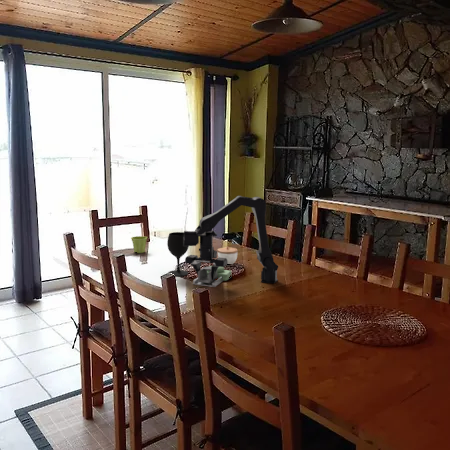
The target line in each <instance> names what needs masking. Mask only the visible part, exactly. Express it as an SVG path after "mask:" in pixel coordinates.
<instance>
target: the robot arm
mask: <svg viewBox="0 0 450 450" xmlns="http://www.w3.org/2000/svg"><path fill="white" fill-rule="evenodd" d="M241 206H243V207H248V208H251V211H252V212H253V215H254V218H255V224H256V230H257V239H258V243H259V244H258V245H259V246H258V250H255V253H256V259H257V260H258V261H259V263H260V264H261V265H262V270H261V272H260V276H261V277H260V281H261V282H260V283H265V284H266V283H267V284H268V283H269V284H276V283H277V282H278V269H279V265H278V264H277V263H276V262H274V257H273V253H272V251H271V249H270V246H269V239H268V232H267V224H266V218H265V217H266V216H265V215H266V211H267V203H266V200H265V199H264V198H262V197H260V196H254V197H247V196H242V195H237V196H236V197H235V198H233V199H232V200H231V201H229V202H228V203H226V204H225V205H224V206H222V207H221V208H219V209H218V210H217V211H215V212H214V213H211V214H208V215H205V216H204V217H201V219H199V223H198V225H197V227H196V228H195V230H191V231H188V230H184V231H183V232H184V237H183V245H184V246H189V247H197V245H198V244H199V248H198V251H199V256H198V255H197V254H189V255H187V256H185V259H184V262H185V264H190V266H192V267H193V269H194V270H195V271H194V272H195V273H196V274H197V276H198V271H199V270H201V269H202V268H201V266H202V263H206V264H213V265H211V266H212V267H211V277H212V280H213V279H214V276H215V273H216V271H217V269H218V267H224V268H225V267H226V266H228V265H227V264H228V260H227V259H226V258H218V250H215V248H214V246H213V245H214V244H213V240H214V239H213V237H218V234H217V233H216V232H215V230H213V229H214V228H215V227H216V226H217V225H218V224H219V222H221V220H223V219H224V218H226V217H227V216H228V215H229V214H231V213H232V212H234V211H235V210H237V209H238V208H240V207H241Z"/></svg>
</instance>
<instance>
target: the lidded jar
mask: <svg viewBox="0 0 450 450" xmlns="http://www.w3.org/2000/svg"><path fill="white" fill-rule="evenodd" d="M238 251H239V250H238V249H237V248H236V247H229V246H228V245H227V246H226V247H220V248H217V259H218V258H226V259H227V260H228V264H232V265H233V264H234V263H235V262H236V261H237V260H238V259H237V258H238Z"/></svg>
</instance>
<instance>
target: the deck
mask: <svg viewBox="0 0 450 450" xmlns="http://www.w3.org/2000/svg"><path fill="white" fill-rule="evenodd" d="M212 266H213V265H209V266H208V267H212ZM209 272H210V271H209V270H207V275H209ZM230 275H231V276H232V270H227V269H225V266H224V267H218V269H217V278H218V279H217V280H214V281H213V282H211V283H203V282H198V277H196V278H194V279H193V280H192V285H195V286H196V285H197V286H202V287H203V286H204V287H212V288H217V286H218V285H220V284H221V283H222V282H223V281H224V282H225V281H228V280H229V279H230V278H231V277H230ZM229 277H230V278H229Z"/></svg>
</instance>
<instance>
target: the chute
mask: <svg viewBox="0 0 450 450" xmlns="http://www.w3.org/2000/svg"><path fill="white" fill-rule="evenodd" d="M207 270H209V271H210V272H209V275H207ZM197 278H198V282H203V283H211V282H213V281H214V280H215V279H217V271H216V273H215V276H214V279H213V280H212V277H211V267H209V266H204V267H202V268H201V270H199V271H198V275H197Z"/></svg>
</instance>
